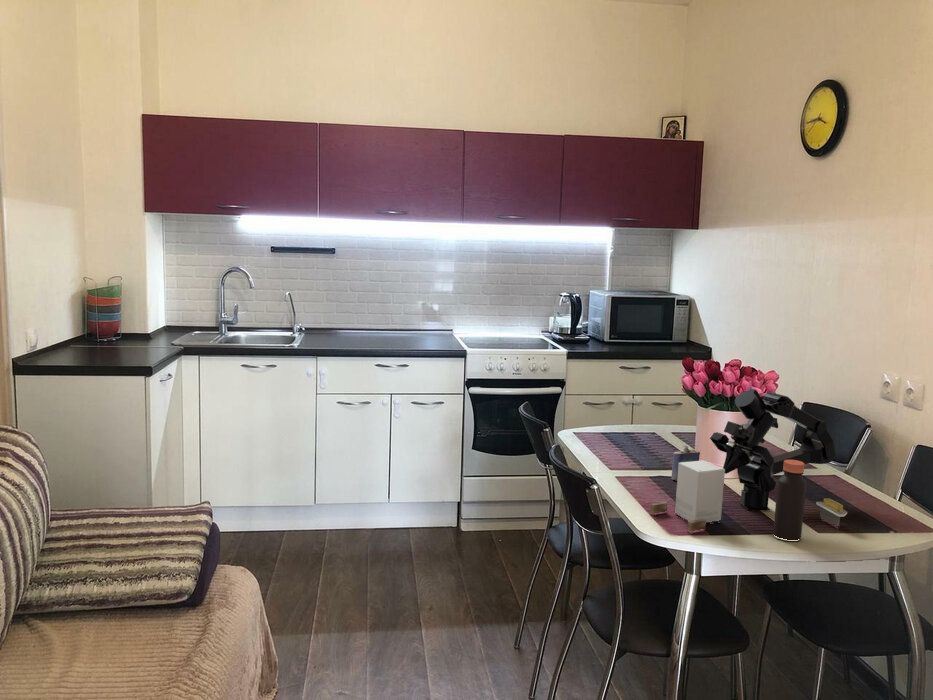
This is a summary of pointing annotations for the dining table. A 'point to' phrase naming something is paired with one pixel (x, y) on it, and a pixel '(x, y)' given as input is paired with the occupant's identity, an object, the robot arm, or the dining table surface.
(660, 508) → the walnut slot
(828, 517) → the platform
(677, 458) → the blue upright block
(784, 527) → the bottle
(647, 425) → the dining table surface
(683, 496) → the supplement box
